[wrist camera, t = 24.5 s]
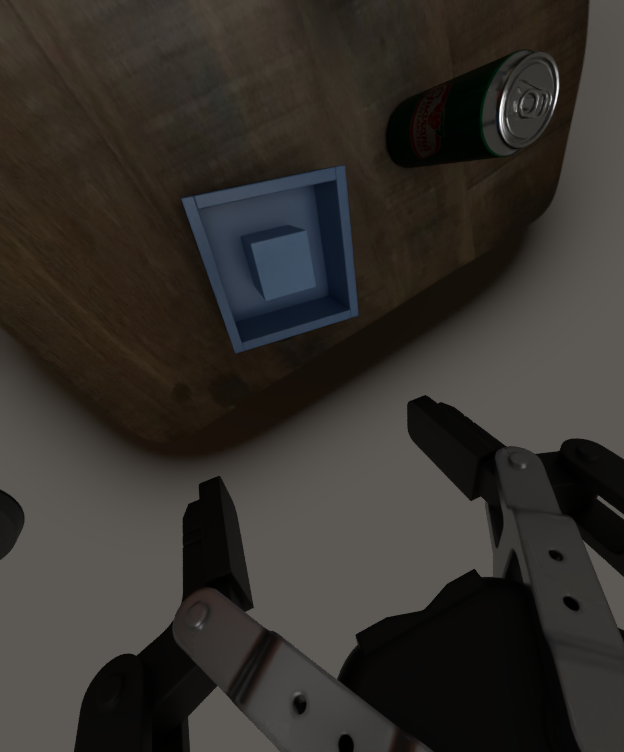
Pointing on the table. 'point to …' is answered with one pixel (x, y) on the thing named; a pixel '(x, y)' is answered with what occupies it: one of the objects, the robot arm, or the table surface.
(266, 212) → the blue bin
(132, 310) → the table surface
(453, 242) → the table surface
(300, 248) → the blue block
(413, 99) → the soda can
